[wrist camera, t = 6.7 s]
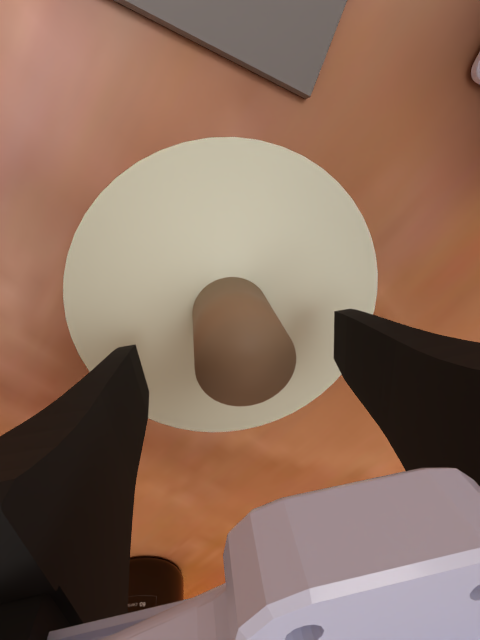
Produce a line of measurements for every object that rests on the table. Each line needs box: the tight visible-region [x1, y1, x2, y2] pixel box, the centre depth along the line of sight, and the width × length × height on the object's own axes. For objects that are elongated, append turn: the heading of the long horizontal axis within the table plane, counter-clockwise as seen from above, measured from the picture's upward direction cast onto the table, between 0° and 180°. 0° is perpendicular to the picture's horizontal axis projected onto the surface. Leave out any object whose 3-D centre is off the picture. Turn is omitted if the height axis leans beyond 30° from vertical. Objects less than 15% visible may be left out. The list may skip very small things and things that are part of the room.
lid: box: [63, 137, 378, 432], centre depth 12 cm, size 13×13×5 cm
